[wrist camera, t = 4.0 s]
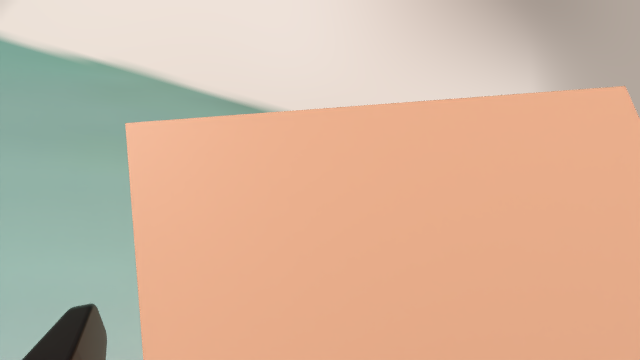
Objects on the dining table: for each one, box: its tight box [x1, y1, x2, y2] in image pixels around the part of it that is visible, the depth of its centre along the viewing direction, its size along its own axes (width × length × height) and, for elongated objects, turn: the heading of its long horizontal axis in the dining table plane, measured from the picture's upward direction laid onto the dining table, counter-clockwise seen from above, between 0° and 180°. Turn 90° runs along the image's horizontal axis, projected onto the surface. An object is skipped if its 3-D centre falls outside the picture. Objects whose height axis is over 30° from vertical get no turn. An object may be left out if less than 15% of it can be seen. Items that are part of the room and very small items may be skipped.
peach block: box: [125, 86, 640, 360], centre depth 9 cm, size 5×5×13 cm
